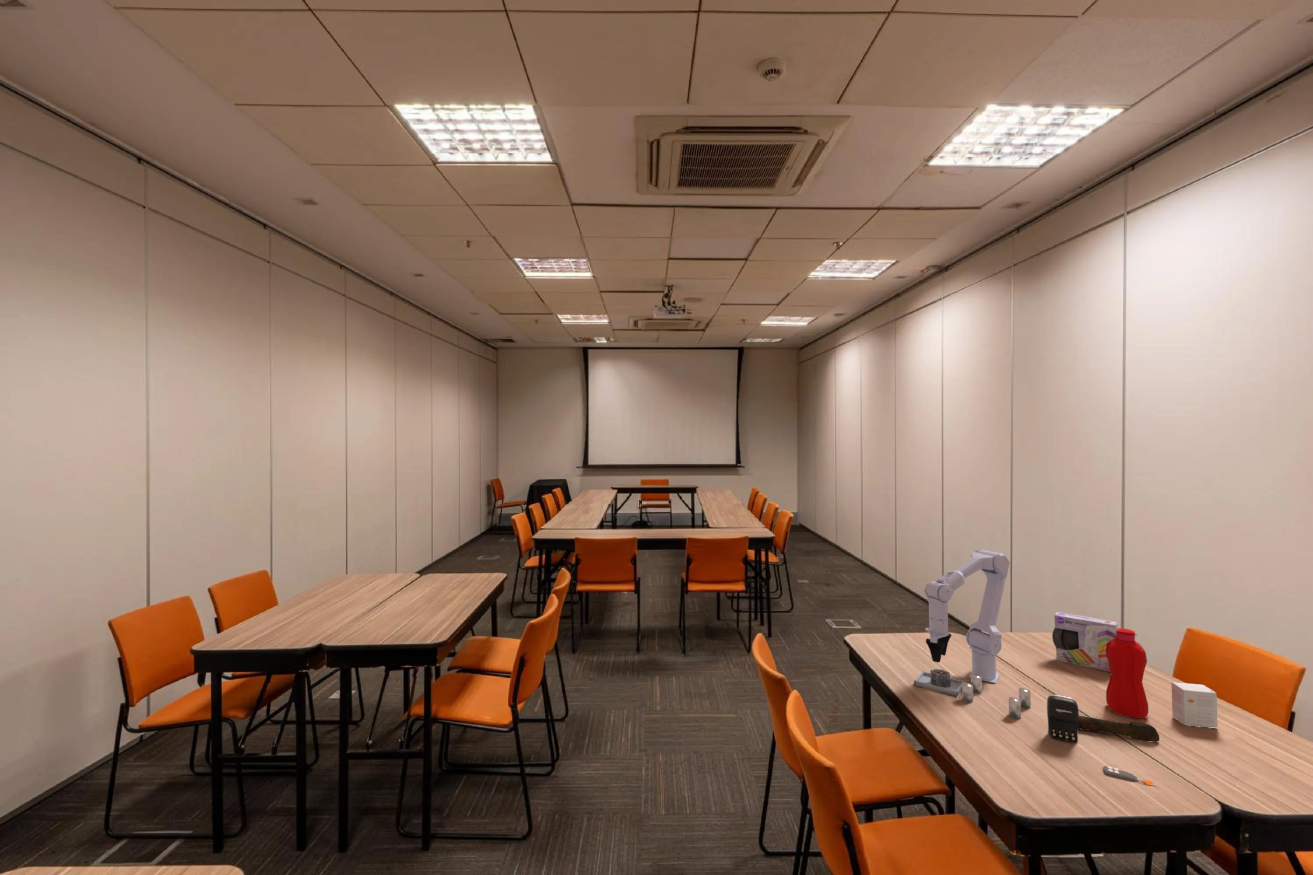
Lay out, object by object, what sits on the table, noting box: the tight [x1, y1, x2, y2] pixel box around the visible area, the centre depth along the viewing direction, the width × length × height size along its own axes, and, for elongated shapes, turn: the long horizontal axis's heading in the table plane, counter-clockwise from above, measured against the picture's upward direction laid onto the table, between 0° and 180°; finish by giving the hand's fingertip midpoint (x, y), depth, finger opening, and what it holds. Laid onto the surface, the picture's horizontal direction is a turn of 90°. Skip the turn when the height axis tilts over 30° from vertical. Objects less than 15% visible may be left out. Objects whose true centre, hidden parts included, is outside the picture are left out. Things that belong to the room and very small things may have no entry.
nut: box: [929, 668, 951, 688], centre depth 184 cm, size 6×6×4 cm
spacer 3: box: [1008, 697, 1022, 720], centre depth 163 cm, size 3×3×5 cm
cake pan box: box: [1051, 611, 1119, 673], centre depth 200 cm, size 19×5×18 cm, turn 42°
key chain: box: [1102, 765, 1154, 786], centre depth 132 cm, size 13×4×2 cm, turn 54°
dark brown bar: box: [1078, 715, 1160, 742], centre depth 152 cm, size 19×4×5 cm, turn 62°
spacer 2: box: [970, 674, 983, 694], centre depth 179 cm, size 3×3×5 cm
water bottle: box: [1099, 627, 1149, 720], centre depth 166 cm, size 9×11×25 cm
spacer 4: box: [1018, 687, 1032, 709], centre depth 169 cm, size 3×3×5 cm
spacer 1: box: [961, 682, 974, 703], centre depth 173 cm, size 3×3×5 cm
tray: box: [913, 670, 965, 697], centre depth 184 cm, size 10×13×2 cm
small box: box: [1171, 681, 1219, 728], centre depth 158 cm, size 8×6×10 cm
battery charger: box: [1046, 694, 1080, 743], centre depth 150 cm, size 7×4×11 cm, turn 61°
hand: (939, 657), depth 184 cm, fingers open, 7 cm apart
